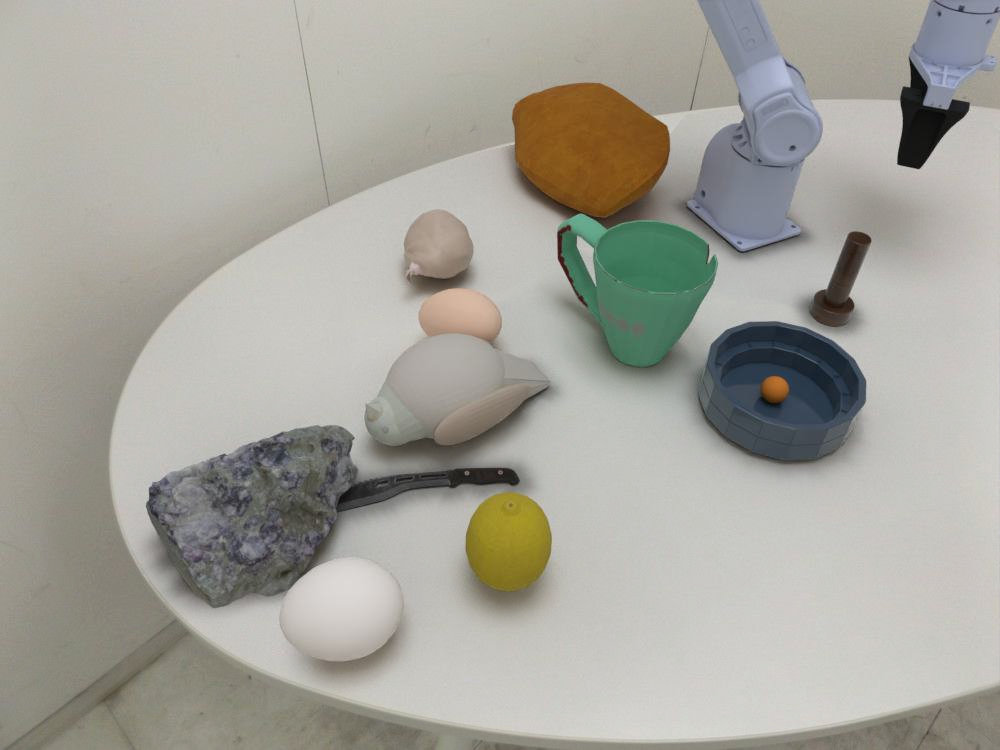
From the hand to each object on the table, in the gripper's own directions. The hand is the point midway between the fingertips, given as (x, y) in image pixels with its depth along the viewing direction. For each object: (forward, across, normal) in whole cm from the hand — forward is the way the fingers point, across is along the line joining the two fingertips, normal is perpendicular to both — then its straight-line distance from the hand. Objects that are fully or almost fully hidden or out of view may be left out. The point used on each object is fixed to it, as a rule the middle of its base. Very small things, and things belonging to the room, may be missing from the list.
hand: (911, 146), depth 81 cm
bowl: (+10, -30, +5) cm, 32 cm away
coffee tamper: (+10, -16, +3) cm, 19 cm away
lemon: (+9, -54, +19) cm, 58 cm away
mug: (+9, -27, +20) cm, 35 cm away
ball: (+8, -30, +6) cm, 31 cm away
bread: (+10, -4, +29) cm, 31 cm away
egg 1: (+5, -60, +23) cm, 65 cm away
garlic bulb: (+6, -23, +36) cm, 44 cm away
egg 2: (+5, -35, +28) cm, 45 cm away
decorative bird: (+9, -42, +28) cm, 51 cm away
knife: (+9, -52, +27) cm, 59 cm away
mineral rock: (+5, -56, +39) cm, 68 cm away
